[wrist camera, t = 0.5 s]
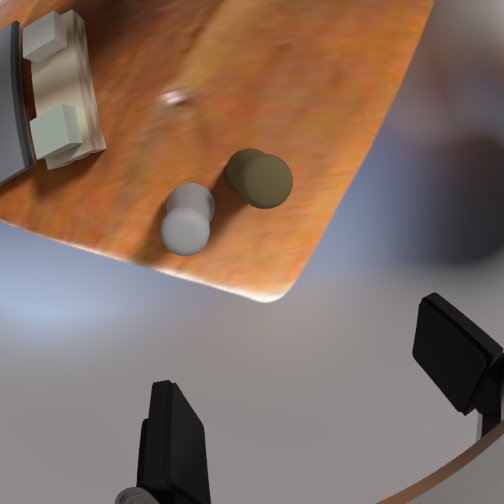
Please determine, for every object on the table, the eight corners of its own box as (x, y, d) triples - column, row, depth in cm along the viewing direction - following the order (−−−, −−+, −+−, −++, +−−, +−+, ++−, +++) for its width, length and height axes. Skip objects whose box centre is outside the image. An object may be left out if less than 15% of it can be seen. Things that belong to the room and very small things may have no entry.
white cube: (36, 36, 19) (23, 29, 16) (65, 19, 19) (53, 10, 16) (37, 63, 20) (23, 57, 17) (67, 46, 21) (54, 38, 18)
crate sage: (44, 122, 24) (29, 121, 20) (75, 106, 24) (61, 103, 21) (51, 157, 25) (36, 159, 22) (82, 142, 26) (69, 143, 23)
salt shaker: (190, 170, 34) (182, 185, 22) (223, 202, 36) (234, 232, 24) (159, 205, 34) (136, 237, 22) (192, 234, 37) (187, 280, 25)
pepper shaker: (230, 200, 36) (240, 223, 26) (221, 153, 33) (228, 155, 23) (276, 191, 36) (305, 210, 26) (269, 144, 34) (297, 145, 24)
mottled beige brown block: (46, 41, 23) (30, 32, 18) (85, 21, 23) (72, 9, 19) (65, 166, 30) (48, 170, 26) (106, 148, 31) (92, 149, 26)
